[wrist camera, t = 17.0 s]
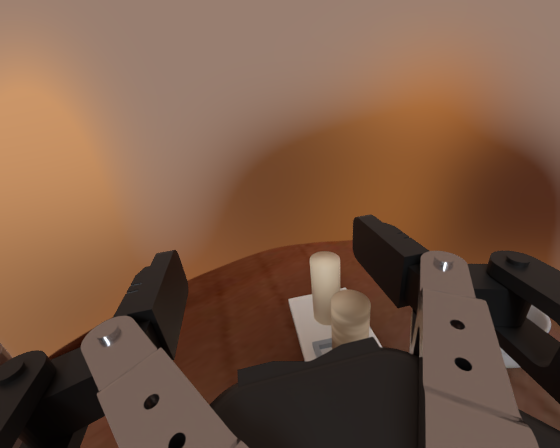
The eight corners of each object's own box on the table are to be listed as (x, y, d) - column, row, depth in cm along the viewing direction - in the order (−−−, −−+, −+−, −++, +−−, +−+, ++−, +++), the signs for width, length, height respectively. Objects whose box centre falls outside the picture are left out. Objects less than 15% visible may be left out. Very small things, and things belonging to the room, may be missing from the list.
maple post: (326, 368, 37) (323, 306, 32) (342, 345, 40) (342, 285, 35) (357, 389, 34) (359, 323, 29) (372, 362, 37) (376, 298, 32)
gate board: (412, 404, 33) (426, 329, 27) (322, 427, 31) (317, 354, 26) (345, 293, 52) (345, 236, 47) (289, 304, 51) (281, 247, 45)
